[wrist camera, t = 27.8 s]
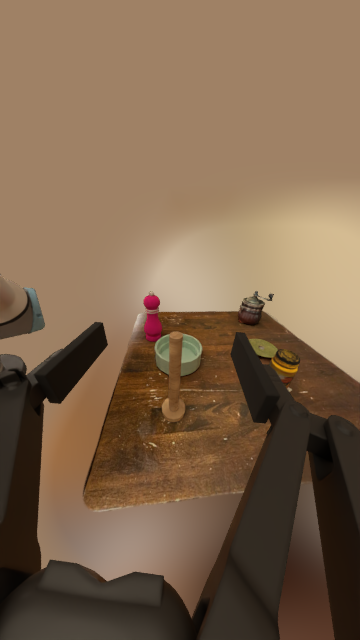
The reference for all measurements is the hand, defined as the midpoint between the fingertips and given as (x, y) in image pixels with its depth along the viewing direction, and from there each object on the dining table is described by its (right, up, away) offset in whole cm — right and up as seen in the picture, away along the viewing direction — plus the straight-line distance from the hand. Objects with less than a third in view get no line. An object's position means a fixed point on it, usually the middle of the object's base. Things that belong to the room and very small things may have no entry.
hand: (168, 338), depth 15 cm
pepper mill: (-10, -6, +49) cm, 50 cm away
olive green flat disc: (+32, -10, +43) cm, 55 cm away
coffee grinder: (+38, 0, +63) cm, 74 cm away
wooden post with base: (0, -20, +22) cm, 30 cm away
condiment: (+28, -17, +30) cm, 45 cm away
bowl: (0, -12, +37) cm, 39 cm away
